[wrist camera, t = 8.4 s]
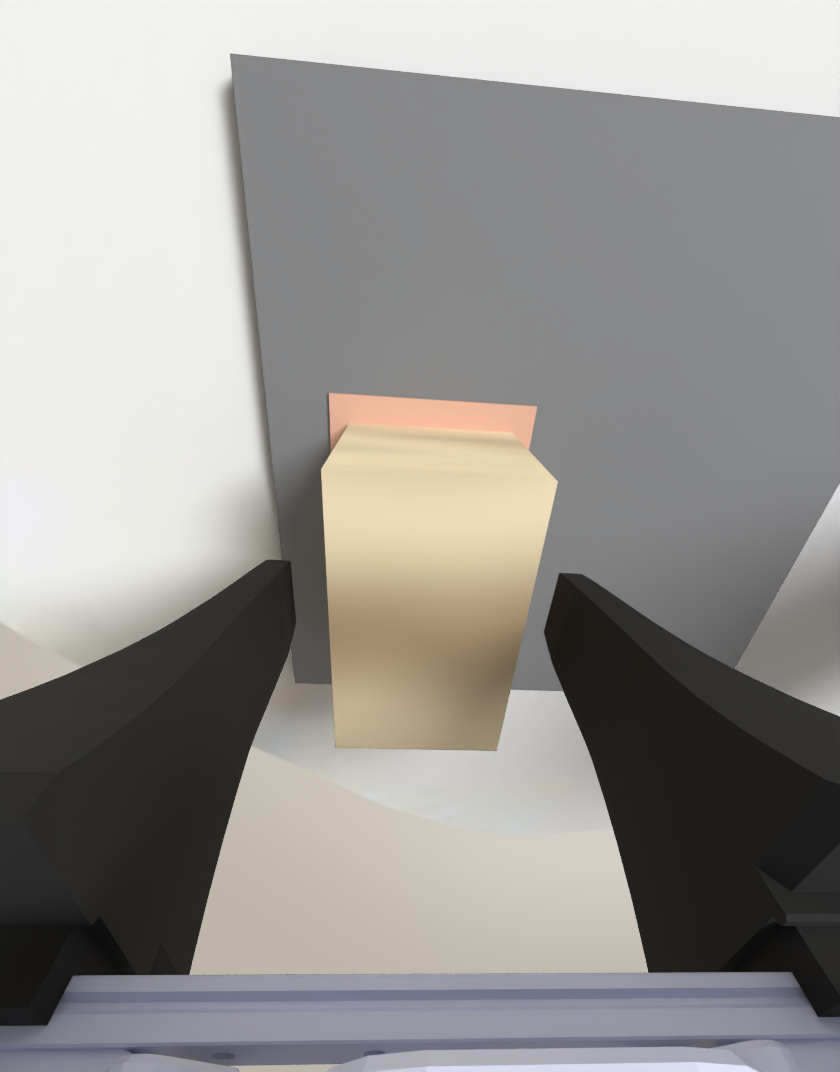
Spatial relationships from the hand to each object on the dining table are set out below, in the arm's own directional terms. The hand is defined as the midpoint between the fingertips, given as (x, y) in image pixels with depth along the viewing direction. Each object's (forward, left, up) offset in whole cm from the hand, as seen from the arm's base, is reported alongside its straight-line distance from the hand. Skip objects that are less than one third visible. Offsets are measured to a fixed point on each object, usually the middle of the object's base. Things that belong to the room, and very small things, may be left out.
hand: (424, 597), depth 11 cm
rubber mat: (-4, -2, -3) cm, 6 cm away
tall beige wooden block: (0, 0, -2) cm, 2 cm away
